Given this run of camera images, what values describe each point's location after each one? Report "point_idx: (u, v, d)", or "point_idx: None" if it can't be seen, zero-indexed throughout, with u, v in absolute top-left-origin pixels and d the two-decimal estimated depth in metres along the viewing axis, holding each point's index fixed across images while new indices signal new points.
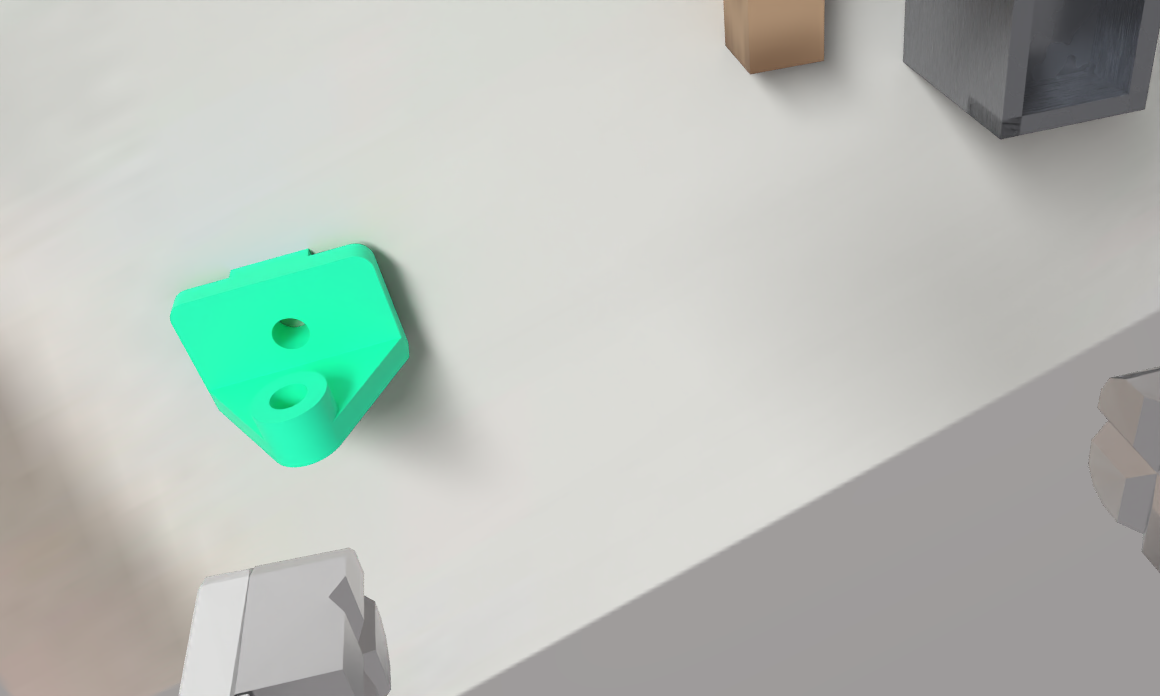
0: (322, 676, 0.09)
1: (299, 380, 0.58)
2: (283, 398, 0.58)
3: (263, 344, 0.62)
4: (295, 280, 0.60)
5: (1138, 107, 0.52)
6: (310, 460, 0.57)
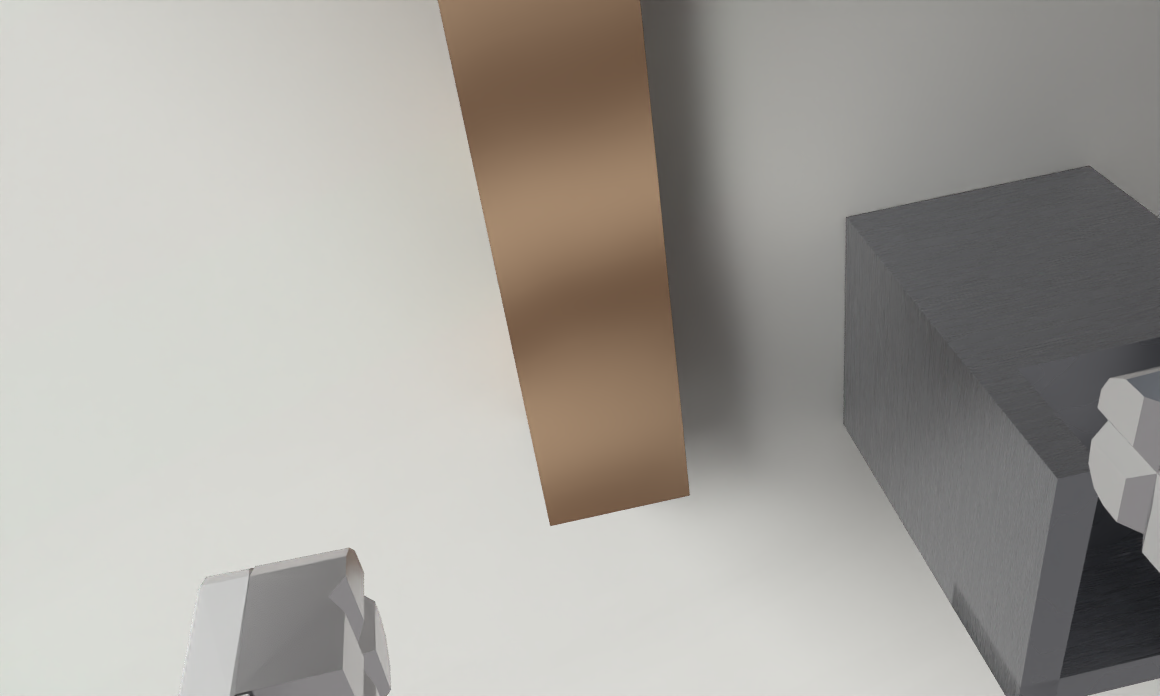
0: (322, 676, 0.09)
1: None
2: None
3: None
4: None
5: None
6: None
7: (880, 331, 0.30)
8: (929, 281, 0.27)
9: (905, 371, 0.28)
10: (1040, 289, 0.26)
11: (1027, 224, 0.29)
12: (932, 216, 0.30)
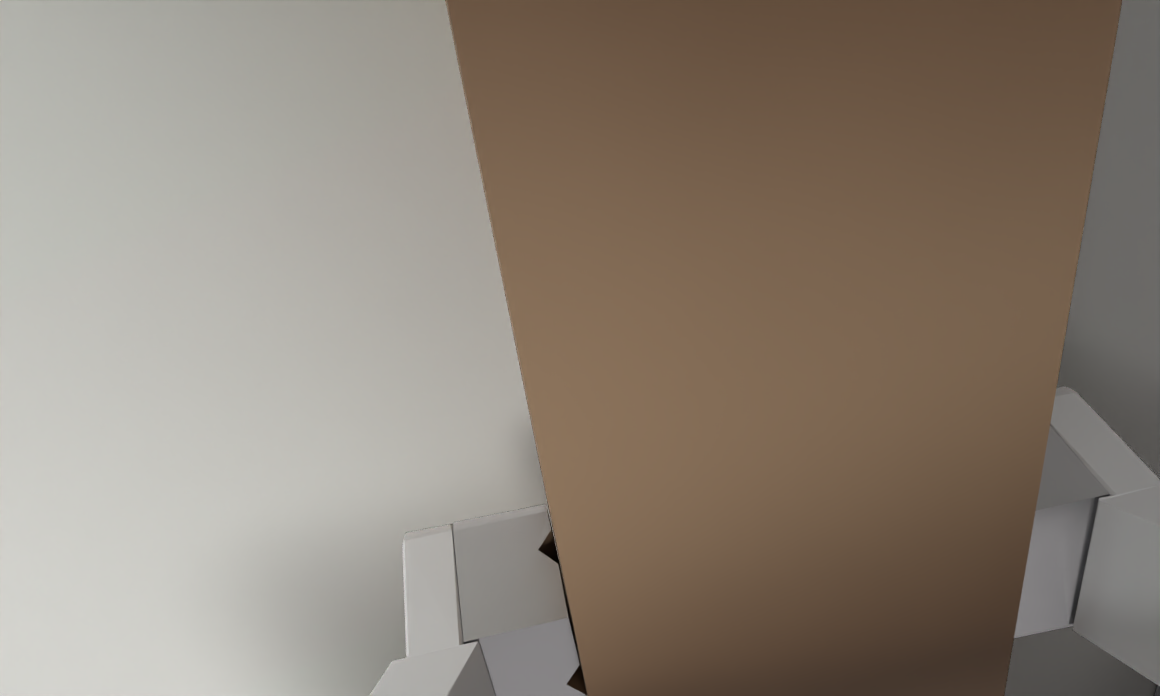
0: (546, 624, 0.09)
1: None
2: None
3: None
4: None
5: None
6: None
7: None
8: None
9: None
10: None
11: None
12: None
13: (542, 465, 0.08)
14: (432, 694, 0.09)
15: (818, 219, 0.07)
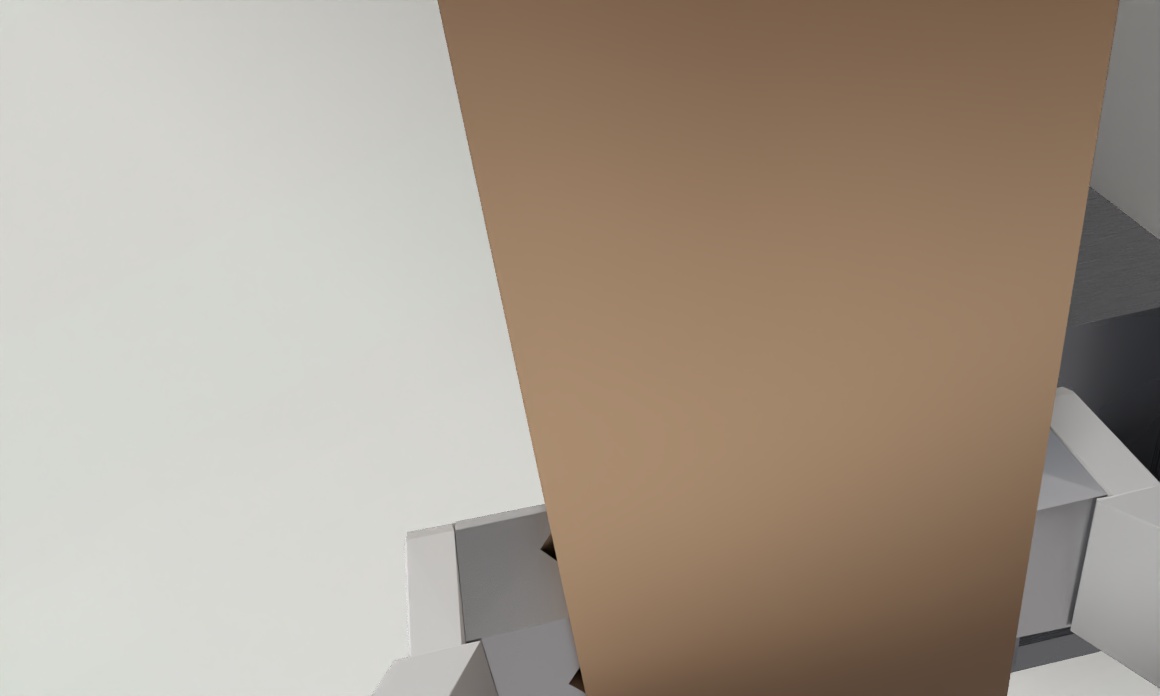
0: (549, 624, 0.09)
1: None
2: None
3: None
4: None
5: None
6: None
7: None
8: None
9: None
10: None
11: None
12: None
13: (540, 477, 0.08)
14: (435, 693, 0.09)
15: (815, 230, 0.07)
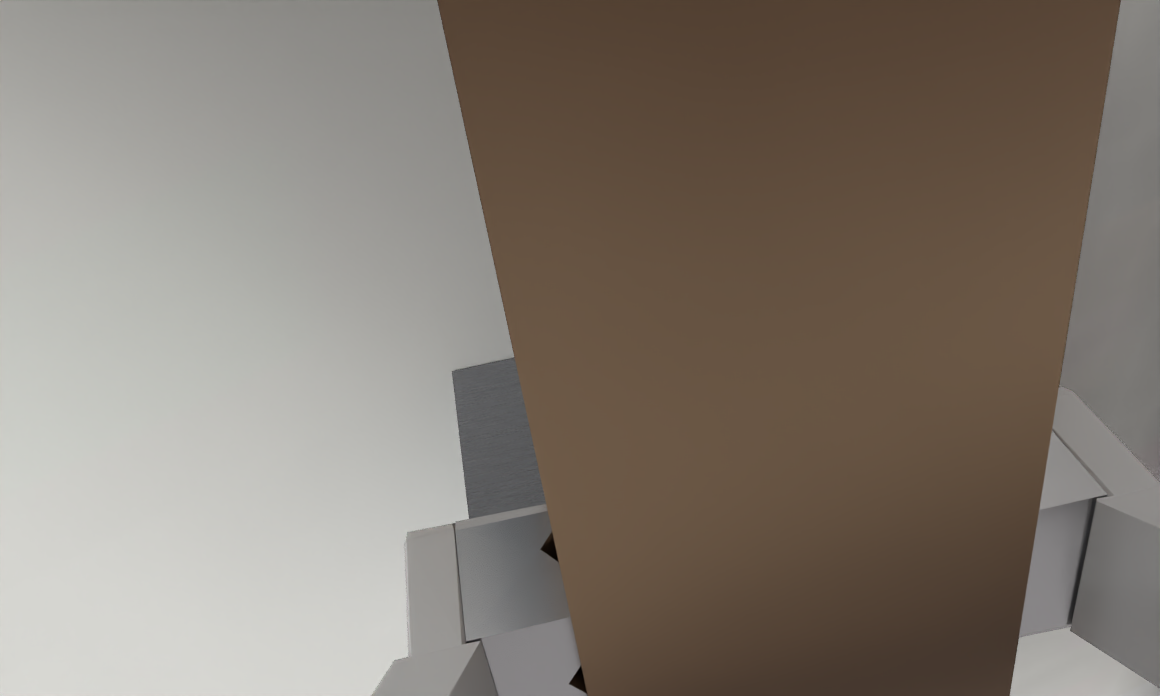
0: (549, 624, 0.09)
1: None
2: None
3: None
4: None
5: None
6: None
7: None
8: (495, 464, 0.24)
9: None
10: None
11: None
12: None
13: (542, 482, 0.08)
14: (435, 693, 0.09)
15: (815, 236, 0.07)
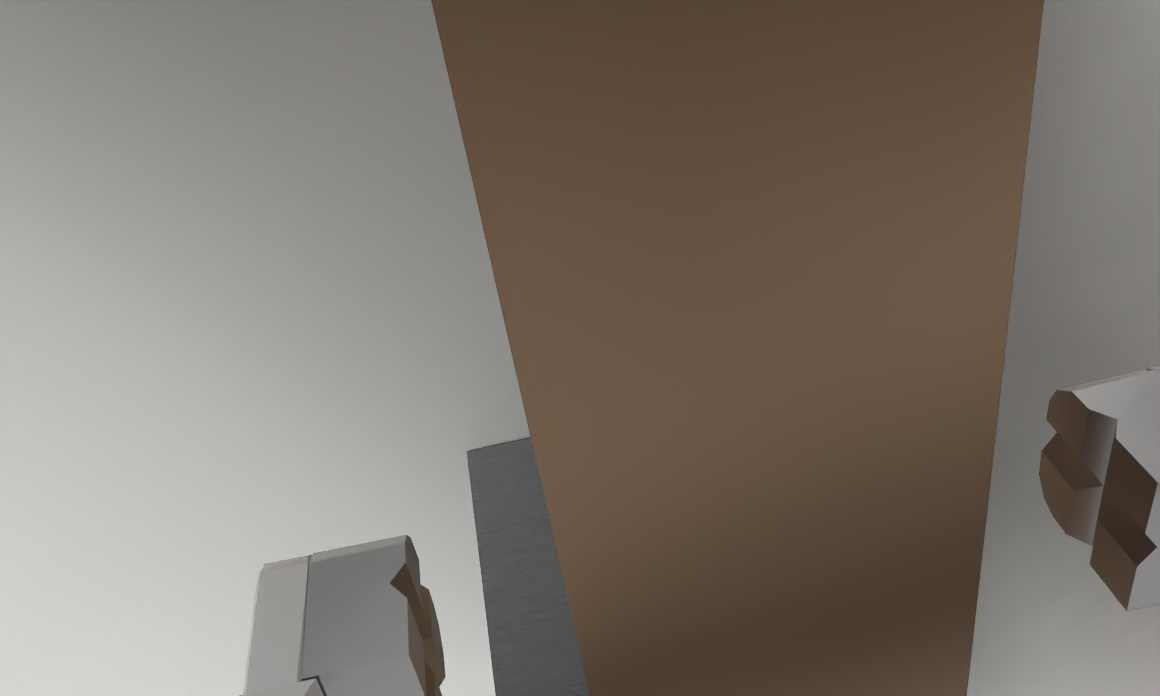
0: (388, 661, 0.09)
1: None
2: None
3: None
4: None
5: None
6: None
7: None
8: (515, 564, 0.22)
9: None
10: None
11: None
12: None
13: (527, 419, 0.08)
14: None
15: (774, 185, 0.07)
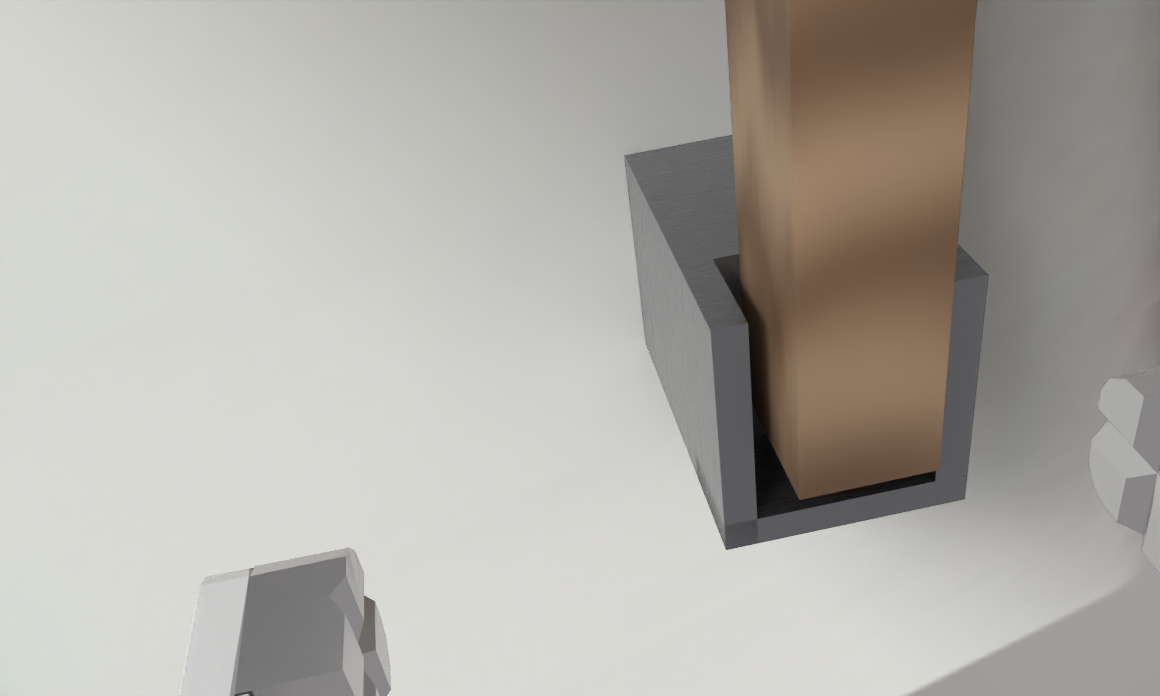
0: (322, 676, 0.09)
1: None
2: None
3: None
4: None
5: (953, 497, 0.32)
6: None
7: (646, 249, 0.35)
8: (671, 200, 0.33)
9: (658, 278, 0.34)
10: None
11: None
12: (693, 154, 0.36)
13: None
14: None
15: None
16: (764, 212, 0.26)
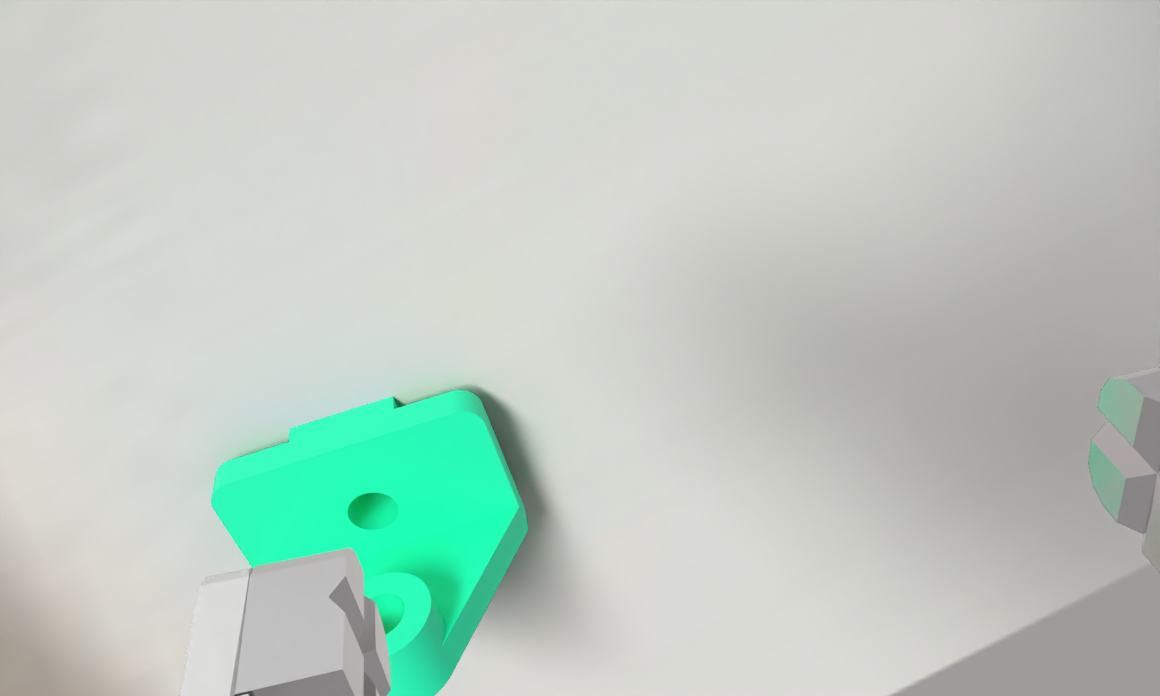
0: (322, 676, 0.09)
1: (391, 588, 0.42)
2: None
3: (336, 526, 0.46)
4: (380, 446, 0.44)
5: None
6: None
7: None
8: None
9: None
10: None
11: None
12: None
13: None
14: None
15: None
16: None
